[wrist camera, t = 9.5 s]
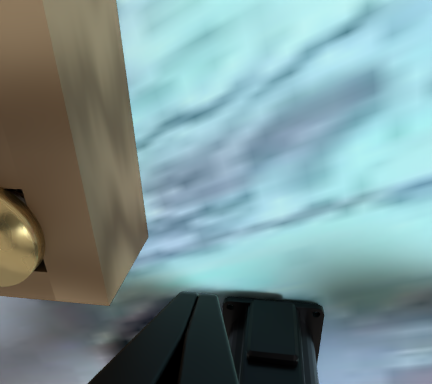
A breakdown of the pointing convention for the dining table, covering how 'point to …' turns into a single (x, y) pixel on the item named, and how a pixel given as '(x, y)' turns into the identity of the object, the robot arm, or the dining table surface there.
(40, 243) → the peg
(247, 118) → the dining table surface
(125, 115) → the block
